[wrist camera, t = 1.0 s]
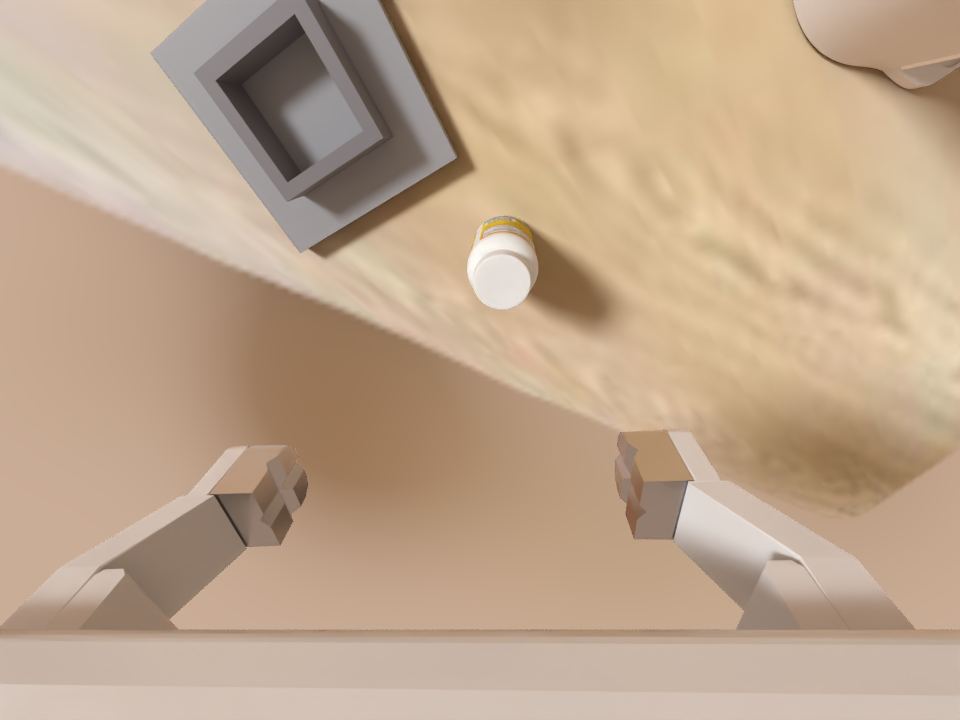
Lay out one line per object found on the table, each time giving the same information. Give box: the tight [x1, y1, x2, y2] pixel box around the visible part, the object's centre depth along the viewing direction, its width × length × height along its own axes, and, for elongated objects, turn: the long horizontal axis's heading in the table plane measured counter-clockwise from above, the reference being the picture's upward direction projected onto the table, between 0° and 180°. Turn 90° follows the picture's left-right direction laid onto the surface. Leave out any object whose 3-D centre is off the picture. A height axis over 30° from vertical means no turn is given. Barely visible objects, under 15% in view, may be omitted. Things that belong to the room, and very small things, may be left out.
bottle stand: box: [150, 0, 458, 253], centre depth 28 cm, size 16×16×4 cm
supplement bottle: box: [467, 215, 538, 310], centre depth 31 cm, size 5×5×10 cm
